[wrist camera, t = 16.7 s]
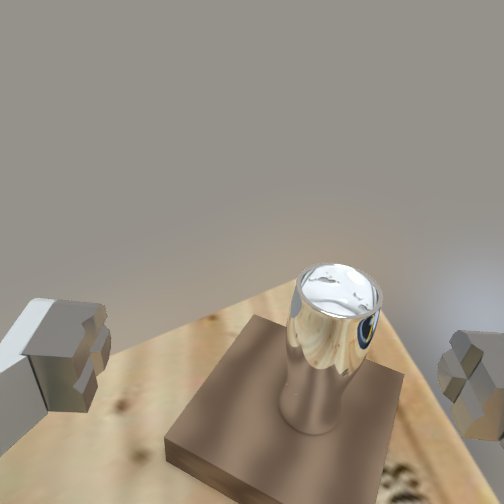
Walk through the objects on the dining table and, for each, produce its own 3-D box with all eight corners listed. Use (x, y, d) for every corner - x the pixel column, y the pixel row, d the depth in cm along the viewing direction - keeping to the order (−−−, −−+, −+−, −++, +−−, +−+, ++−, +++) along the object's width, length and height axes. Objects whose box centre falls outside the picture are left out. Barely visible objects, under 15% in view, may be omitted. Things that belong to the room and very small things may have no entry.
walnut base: (166, 460, 38) (164, 437, 36) (251, 337, 51) (253, 314, 49) (353, 569, 32) (365, 549, 30) (394, 397, 45) (404, 374, 43)
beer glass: (303, 365, 43) (327, 250, 35) (359, 407, 39) (402, 290, 31) (259, 405, 39) (275, 285, 30) (317, 456, 35) (354, 336, 27)
